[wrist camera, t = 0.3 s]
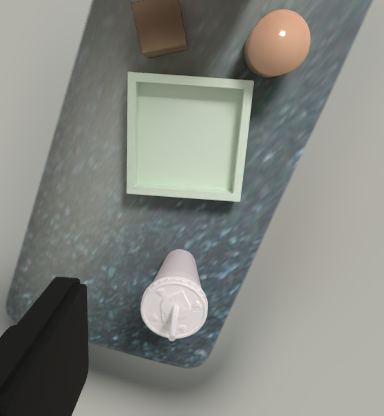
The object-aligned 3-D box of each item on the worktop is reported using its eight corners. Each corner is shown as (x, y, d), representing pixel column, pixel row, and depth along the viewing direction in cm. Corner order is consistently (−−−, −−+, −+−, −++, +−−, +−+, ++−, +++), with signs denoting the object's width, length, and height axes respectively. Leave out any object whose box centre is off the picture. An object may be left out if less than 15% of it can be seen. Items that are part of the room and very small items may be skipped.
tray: (132, 73, 34) (127, 71, 32) (250, 81, 34) (254, 80, 32) (131, 187, 38) (126, 193, 36) (237, 195, 38) (239, 201, 36)
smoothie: (214, 250, 40) (221, 325, 27) (194, 293, 42) (191, 384, 29) (164, 231, 40) (145, 298, 26) (146, 276, 42) (120, 360, 28)
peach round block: (247, 20, 33) (254, 7, 28) (298, 24, 33) (315, 11, 28) (241, 75, 34) (247, 72, 30) (290, 79, 34) (305, 76, 30)
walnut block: (139, 14, 33) (131, 3, 29) (179, 4, 33) (176, -8, 29) (148, 58, 34) (142, 53, 30) (187, 49, 34) (186, 43, 30)
